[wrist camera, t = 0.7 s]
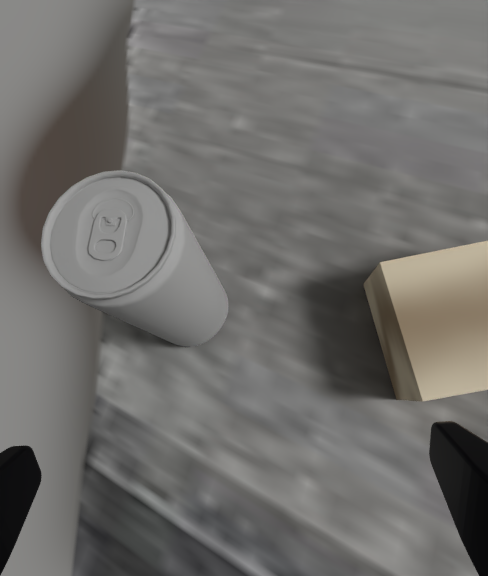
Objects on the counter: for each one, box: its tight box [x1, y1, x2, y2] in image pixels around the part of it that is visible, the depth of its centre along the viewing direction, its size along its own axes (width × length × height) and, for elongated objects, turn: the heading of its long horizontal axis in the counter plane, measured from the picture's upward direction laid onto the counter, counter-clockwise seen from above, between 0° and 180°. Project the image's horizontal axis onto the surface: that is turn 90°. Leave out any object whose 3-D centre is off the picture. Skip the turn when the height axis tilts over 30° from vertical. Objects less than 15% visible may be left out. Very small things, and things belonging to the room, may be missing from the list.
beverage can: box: [41, 170, 228, 347], centre depth 18 cm, size 5×5×12 cm
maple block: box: [363, 241, 488, 401], centre depth 20 cm, size 7×7×4 cm
